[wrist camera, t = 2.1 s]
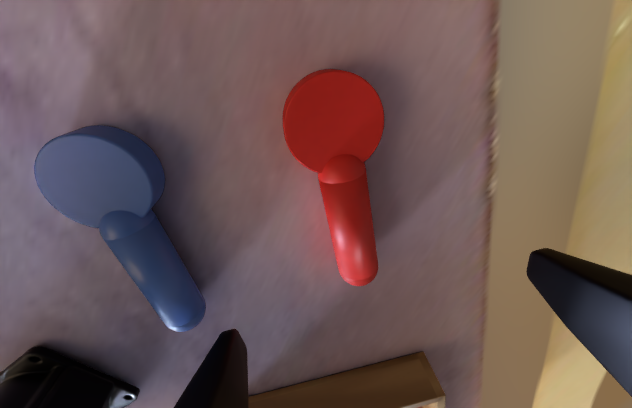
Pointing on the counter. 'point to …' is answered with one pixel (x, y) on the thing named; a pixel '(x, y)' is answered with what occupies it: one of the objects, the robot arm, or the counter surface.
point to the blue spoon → (121, 212)
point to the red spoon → (339, 159)
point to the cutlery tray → (364, 388)
